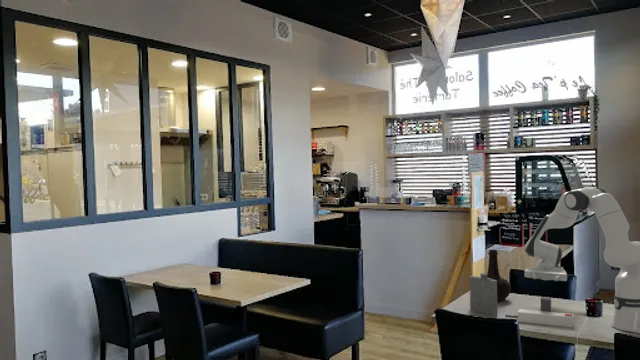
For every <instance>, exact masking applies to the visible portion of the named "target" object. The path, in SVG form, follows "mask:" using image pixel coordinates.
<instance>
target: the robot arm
mask: <svg viewBox="0 0 640 360" xmlns="http://www.w3.org/2000/svg"><path fill="white" fill-rule="evenodd" d="M557 201H558V202H557V203H556V206H555V208H554V210H553V211H552V212H550V214H546V215H545V216H544V217H543V218H542V219H541V221H540V222H539V224H537V225H538V226H537V227H536V229H535V230H534V232H533V234H532V235H531V237H530V238H529V239H528V241H527V242H525V243H526V244H525V246H524V251H525V254H527V256H528V257H532V258H537V259H538V261H537V263H536V268H535V267H534V268H533V267H526V268H525V269H524V270H523V271H524V277H525V278H530V279H533V280H537V279H538V280H539V279H540V280H543V281H554V282H559V281H561V282H567V280H568V273H567V271H566V270H565V269H564V267H563V266H559V265H560V263H561V261H562V257H563V250H562V248H561V247H560V246H559V245H556V244H554V243H550V242H547V241H544V240H541V238H542V237H543V235H544V234H545V232H546V231H547V230H551V229H567V228H569V227H571V226H573V225H574V223H575V222H576V220H577V218H578V215H579V212H581V211H582V212H583V211H592V212H594V215H595V216H596V219H597V221H598V223H599V226H600V228H601V231H602V232H603V235H604V238H605V239H604V240H605V249H604V250H603V258H604V261H605V262H606V264H607V265H609V266H611V267H614V268H620V271H619V272H618V274H617V275H616V277H615V279H614V284H615V285H614V286H615V287H614V290H615V291H614V292H615V293H614V297H613V299H614V300H613V302H614V303H613V306H614V315H613V319H612V324H611V327H613V328H614V329H617V330H621V331H626V332H631V333H636V334H640V241H635V240H634V241H630V239H629V230H630V223H629V221H628V219H627V218H626V216H625V214H624V212H623V210H622V208H621V206H620V204H619V203H618V201H617V200H616V198H614V196H613V195H612V194H611V193H608V192H607V191H606V190H605V189H603V188H600V187H588V188H587V187H583V188H582V187H581V188H578V189H576V188H575V189H571V190H570V191H566V192H563V193H562V195H561V196H560V198H559V199H558V200H557Z"/></svg>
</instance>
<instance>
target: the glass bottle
mask: <svg viewBox="0 0 640 360" xmlns="http://www.w3.org/2000/svg"><path fill="white" fill-rule="evenodd" d="M487 254H488V266H487V267H488V268H487V272H486V273H487V274H488V275H487V278H491V279H493V280H497V302H500V301H503V300H506V299H507V298H508V297H509V296H510V294H511V290H512V289H511V284H510V282H509V281H508V280H507V279H505V278H502V277H501V275H500V270H499V263H498V262H499V261H498V255H499V252H498V250H497V249H489V250H488V252H487Z"/></svg>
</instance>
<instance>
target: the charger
mask: <svg viewBox="0 0 640 360" xmlns="http://www.w3.org/2000/svg"><path fill="white" fill-rule="evenodd" d="M540 311H546V312H552V297H544V296H541V297H540Z"/></svg>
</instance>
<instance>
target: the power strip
mask: <svg viewBox="0 0 640 360" xmlns="http://www.w3.org/2000/svg"><path fill="white" fill-rule="evenodd" d="M505 318H508V319H509V318H510V319H511V318H512V319H517V321H518V320H519V322H518V323H529V324H538V325H545V326H546V325H549V326H557V327H568V328H574V325H575V322H574V321H575V319H574V313H571V312H570V313H567V312H557V311H556V312H553V311H551V312H546V311H541V310H533V309H522V308H519V309H518V311H517V315H512V314H505Z"/></svg>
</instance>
